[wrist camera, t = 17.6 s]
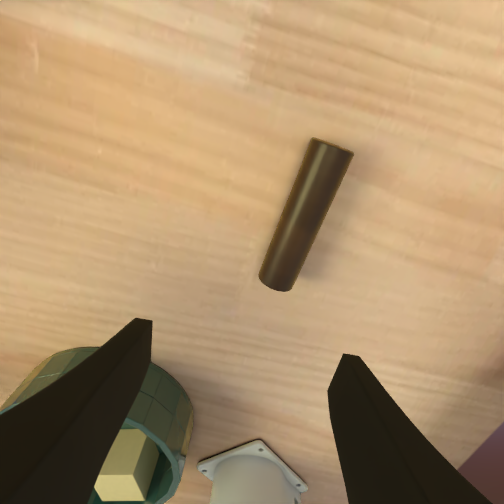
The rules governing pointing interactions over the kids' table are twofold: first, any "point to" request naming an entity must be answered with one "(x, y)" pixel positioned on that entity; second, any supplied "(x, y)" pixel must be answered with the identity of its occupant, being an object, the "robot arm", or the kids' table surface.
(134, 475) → the cream block
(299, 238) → the dark brown cylinder
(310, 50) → the kids' table surface
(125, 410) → the robot arm
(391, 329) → the kids' table surface
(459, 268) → the kids' table surface
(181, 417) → the bowl
